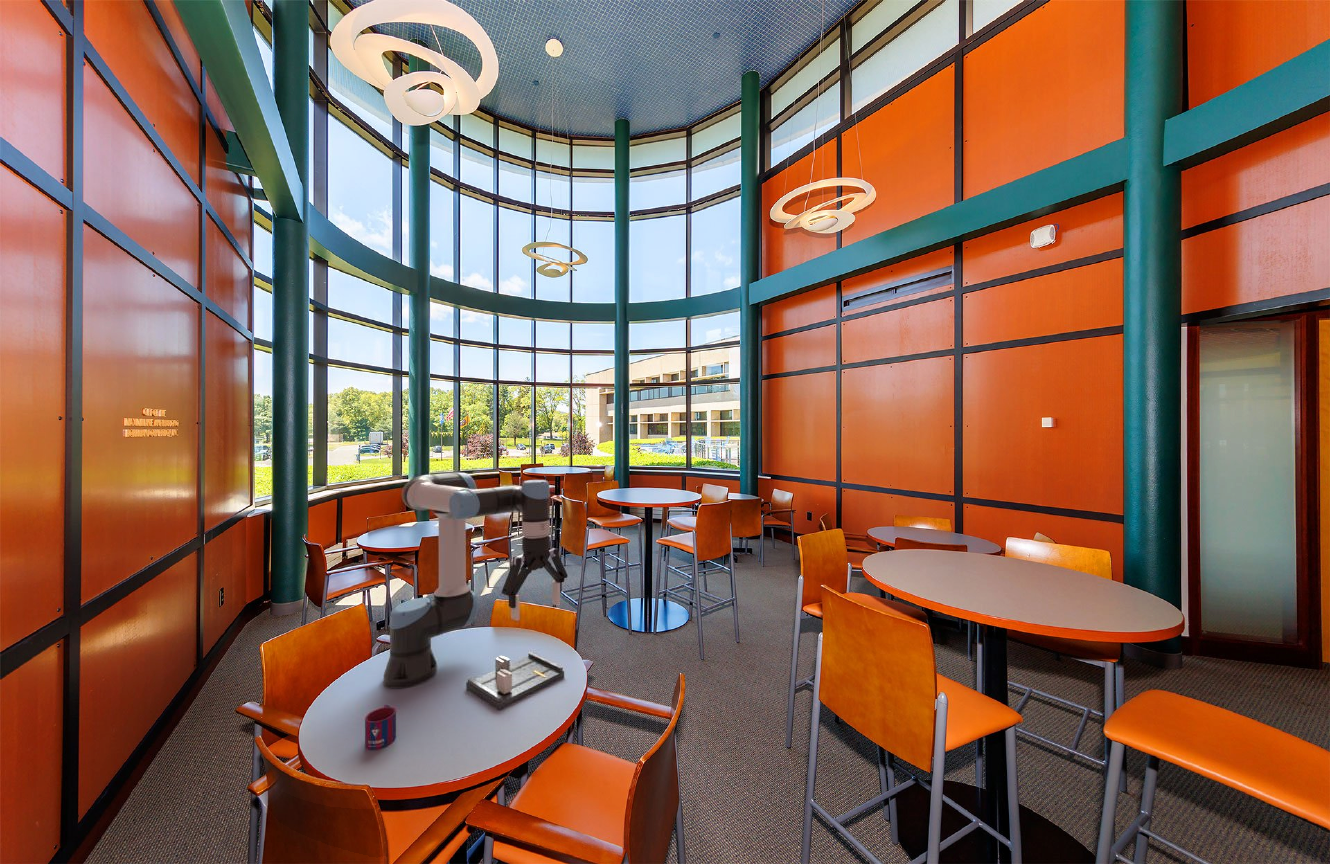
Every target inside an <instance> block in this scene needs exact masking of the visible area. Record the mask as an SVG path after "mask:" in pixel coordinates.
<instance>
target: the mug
mask: <svg viewBox="0 0 1330 864" xmlns="http://www.w3.org/2000/svg"><path fill="white" fill-rule="evenodd" d="M396 738H397V709H396V707H393V706H390V704H385V705H384V706H383V707H380V708H376V709H374V710H372V711H370V712H369V713H368V714H367V715H366V716H365V718H364V747H365V748H366V749H367V750H370V751H377V750H380V749H384V748H385V747H388V746H389V745H391V744H392V743H393V742H394V741H395V740H396Z"/></svg>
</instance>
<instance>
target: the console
mask: <svg viewBox="0 0 1330 864" xmlns="http://www.w3.org/2000/svg"><path fill="white" fill-rule="evenodd" d="M494 659H495V665H494V666H495V670H493V671H491V672H488V673H486V674H483V675H482V676H479V677H476V678H475V679H474V678H472V677H469V678H467V682H466V683H465V684H466V685H465V686H466V687H465V688H466V691H467V692H470V693H471V694H473V695H474V696H476V697H477V698H479V699H480V700H482V701H483V702H484V703H486V704H488V705H490V706H491V707H492V708H494V709H496V710H497V711H501V710H503V709H506V708H507V707H510V706H511V705H513V704H515V703H517V702H519V701H521V700H523V699H525V698H527V697H529V696H531V695H532V694H534V693H536V692H538V691H540V690H543V689H544V688H546V687H548V686H550V685H552V684H554V683H556V682H559V681H560V680H562V679H564V678H565V670H564V668H563V666H561V665H559V664H557V663H555V662H553V661H551V660H549V659H546V658H544V657H542V656H540V655H538V654H535V653H534V652H531V651H530V652H528V655H527V656H524V657H523V658H521V659H517V660H516V661H512V662H511V663H510V661H511V659H510V658H509V657H506V656H504V655H498V657H496V658H494ZM501 669H502V670H503V669H505V670H507V671H509V672H511V673H512V691H510V692H508V693H506V694H503V693H502V692H500V691H498V690H497V672H499V671H500V670H501Z"/></svg>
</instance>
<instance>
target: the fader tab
mask: <svg viewBox="0 0 1330 864" xmlns="http://www.w3.org/2000/svg"><path fill="white" fill-rule="evenodd" d="M497 690H498V691H500V692H502V693H503V694H506V693H508V692H510V691H512V673H511V672H509V671H507V670H505V669H503V670H502V669H501V670H500V671H499V672H497Z"/></svg>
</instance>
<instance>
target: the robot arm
mask: <svg viewBox="0 0 1330 864" xmlns="http://www.w3.org/2000/svg"><path fill="white" fill-rule="evenodd" d="M401 498H402V502H403V503H404V504H405V506H407V507H408V508H410V509H412V510H416V511H426V510H433V514H434V515H435V516H436V517H437V518H438V588H436V589H435V591H434V593H433V599H432V600H431V599H430V598H428V597H419V598H412V599H409V600H406V601H404V602H401V603H399V604H398V605H396V606H395V607H394V608H393V609H392V610H391V612H390V615H389V624H388V626H389V658H388V661H387V663H386V667H385V669H384V671H383V673H384V674H383V685H384V686H385V687H387V688H390V689H404V688H409V687H413V686H417V685H420V684H423V683H425V682H427V681H428V680H430V679H432V678H433V677H435V675H436V673H437V672H438V663H437V659H436V658H435V655H434V653H433V650H432V638H435V637H437V636H441V635H444V634H446V633H450V632H453V631H457V630H461V629H462V628H464V627H467V626H469V625H471V624H473V622H474V620H476V617H477V615H478V610H479V602H478V599H477V594H476V593H475V591H473V590H471V586H469V585H468V584H467V566H466V565H467V563H466V562H467V559H466V558H467V556H466V555H467V552H466V551H467V548H466V547H467V546H466V545H467V544H466V539H467V538H466V537H467V536H466V535H467V534H466V529H467V528H466V527H467V525H466V523H467V522H466V521H467V520H469V519H472V518H478V517H484V516H492V515H499V514H508V513H513V512H515V513H521V521H522V522H521V535H522V536H523V537H522V539H521V540H522V541H521V543H522V545H521V550H522V556H520V557H519V556H513V557H512V558H511V559H512V561H511V567H510V569H509V571H508V574H507V576H506V579H505V582H504V585H503V586H502V589H501V594H503V595H505V596H507V597H508V607H509V608H510V619H512V620H514V621H520V595H519V594H518V593H519V591H520V589H521V587H522V586H523V584H524V583H525V581H526V579H527V578H528V576H529V575H530V574H531V573H532V571H536V570H538V569H540V570H541V569H545V571H546V572H547V573H548V574H549V575H550V576H551V577H552V579H553V581H552V582H551V589H552V590H551V591H552V592H551V601H552V602H551V604H552V605H553V606H558V607H559V606H561V593H562V591H563V586H562V585H563V583H564V582H565V579H567V578H568V573H567V571H566V568H565V567H564V564H563V561H562V559H561V557H560V553H559V552H560V551H559V549H558V548H554V547H551V536H550V533H551V530H550V529H551V528H550V527H551V525H550V524H551V523H550V522H551V521H550V520H551V519H550V517H551V513H550V512H551V511H550V509H551V508H550V507H551V493H550V482H548V480H545V479H528V480H524V481H522V484H521V485H516V484H504V485H502V486H498V487H489V488H477V485H476V482H475V480H474V479H473V477H472V476H471V475H470V474H468V473H467V472H466V473H465V472H446V473H434V474H423V475H422V474H421V475H418V476H415V477H413V478H412V479H410V480H409V481H407V482H406V483H405V484H404V486H403V488H402V491H401ZM466 519H467V520H466ZM549 558H551V562H552V563H553V564H552V563H551V562H550V561H549ZM553 565H554V566H553ZM554 567H555V568H554Z"/></svg>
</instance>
